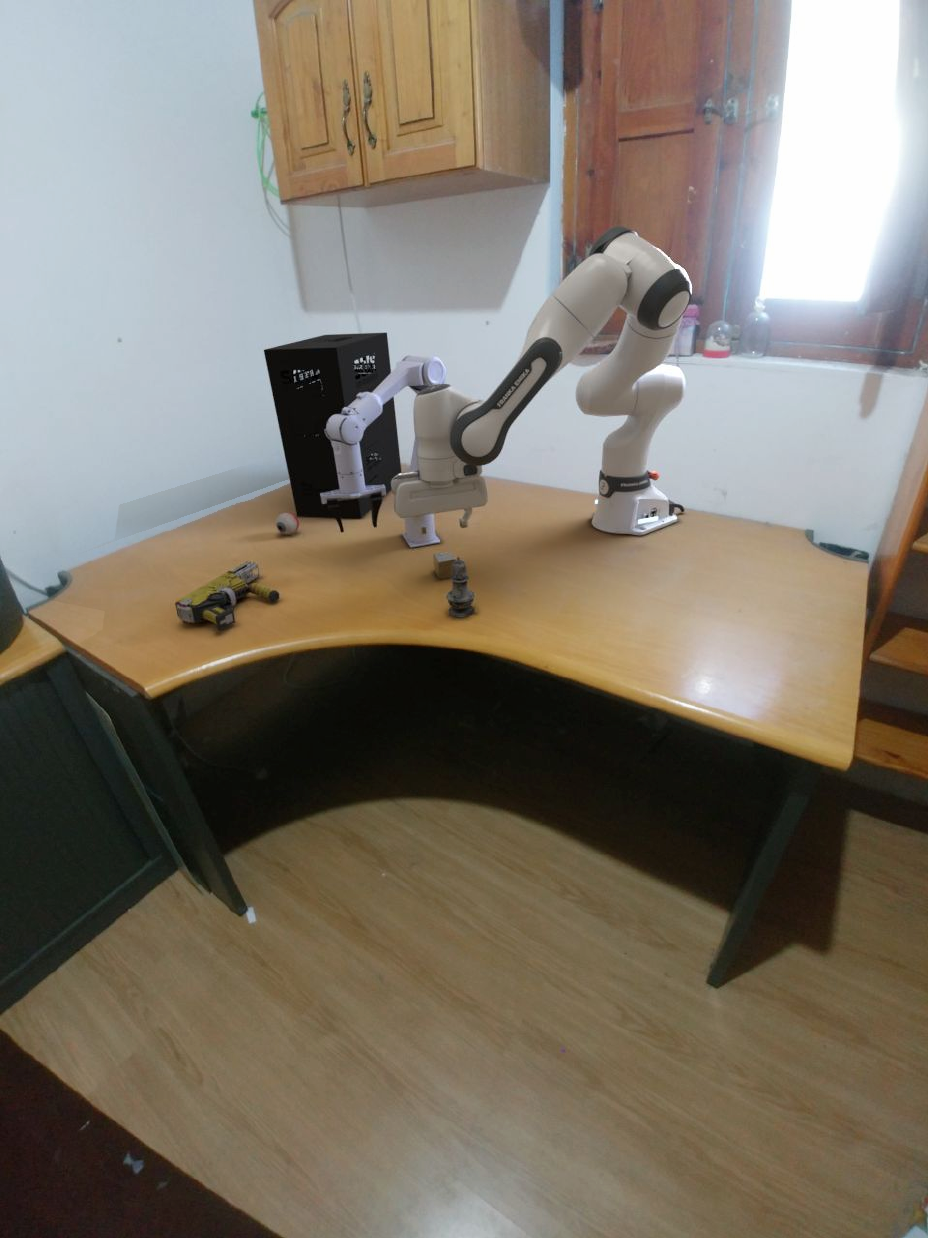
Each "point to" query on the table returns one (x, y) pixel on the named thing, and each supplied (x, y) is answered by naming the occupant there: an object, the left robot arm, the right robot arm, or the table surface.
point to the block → (443, 564)
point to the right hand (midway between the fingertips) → (443, 530)
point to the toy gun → (222, 597)
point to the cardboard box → (319, 402)
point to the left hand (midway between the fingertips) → (358, 528)
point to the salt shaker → (460, 591)
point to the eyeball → (287, 523)
